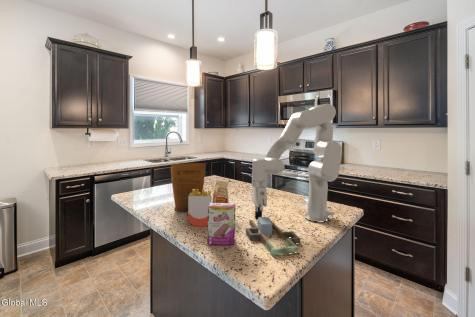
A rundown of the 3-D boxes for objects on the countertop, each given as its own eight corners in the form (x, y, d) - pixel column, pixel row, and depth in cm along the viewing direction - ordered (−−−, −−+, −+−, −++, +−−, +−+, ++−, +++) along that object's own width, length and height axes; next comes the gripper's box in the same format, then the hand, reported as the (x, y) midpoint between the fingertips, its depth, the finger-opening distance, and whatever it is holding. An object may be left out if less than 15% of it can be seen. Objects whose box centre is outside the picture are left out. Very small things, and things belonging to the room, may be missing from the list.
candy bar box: (207, 245, 97) (207, 206, 95) (208, 240, 102) (208, 202, 100) (235, 245, 97) (235, 206, 95) (234, 240, 102) (235, 202, 100)
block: (268, 227, 118) (268, 217, 117) (271, 234, 109) (272, 224, 108) (258, 227, 117) (258, 217, 117) (260, 234, 108) (261, 224, 108)
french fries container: (190, 222, 121) (190, 187, 119) (211, 222, 122) (211, 187, 120) (188, 225, 117) (188, 189, 115) (210, 226, 117) (211, 189, 115)
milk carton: (214, 219, 127) (214, 181, 125) (211, 213, 136) (211, 178, 134) (230, 217, 129) (231, 181, 127) (227, 212, 138) (227, 177, 136)
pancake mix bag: (205, 212, 137) (205, 163, 134) (170, 212, 135) (170, 163, 132) (205, 208, 144) (205, 162, 141) (172, 209, 142) (172, 161, 139)
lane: (277, 222, 123) (277, 218, 123) (308, 252, 93) (308, 246, 92) (240, 225, 119) (240, 220, 118) (260, 257, 88) (260, 250, 88)
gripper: (271, 186, 114) (270, 223, 116) (261, 180, 128) (260, 213, 130) (256, 186, 112) (255, 224, 114) (248, 180, 127) (247, 214, 129)
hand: (258, 218), depth 122 cm, fingers closed
